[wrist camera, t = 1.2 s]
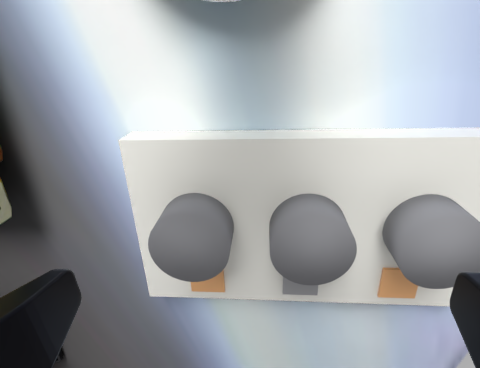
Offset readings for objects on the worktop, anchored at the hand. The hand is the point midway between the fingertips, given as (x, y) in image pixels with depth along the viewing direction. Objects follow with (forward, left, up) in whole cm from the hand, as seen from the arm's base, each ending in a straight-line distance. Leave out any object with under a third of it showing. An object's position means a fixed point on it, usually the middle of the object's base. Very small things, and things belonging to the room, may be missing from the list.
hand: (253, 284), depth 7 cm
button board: (-6, -3, -13) cm, 15 cm away
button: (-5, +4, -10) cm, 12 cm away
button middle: (-5, -3, -10) cm, 11 cm away
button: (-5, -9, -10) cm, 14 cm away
